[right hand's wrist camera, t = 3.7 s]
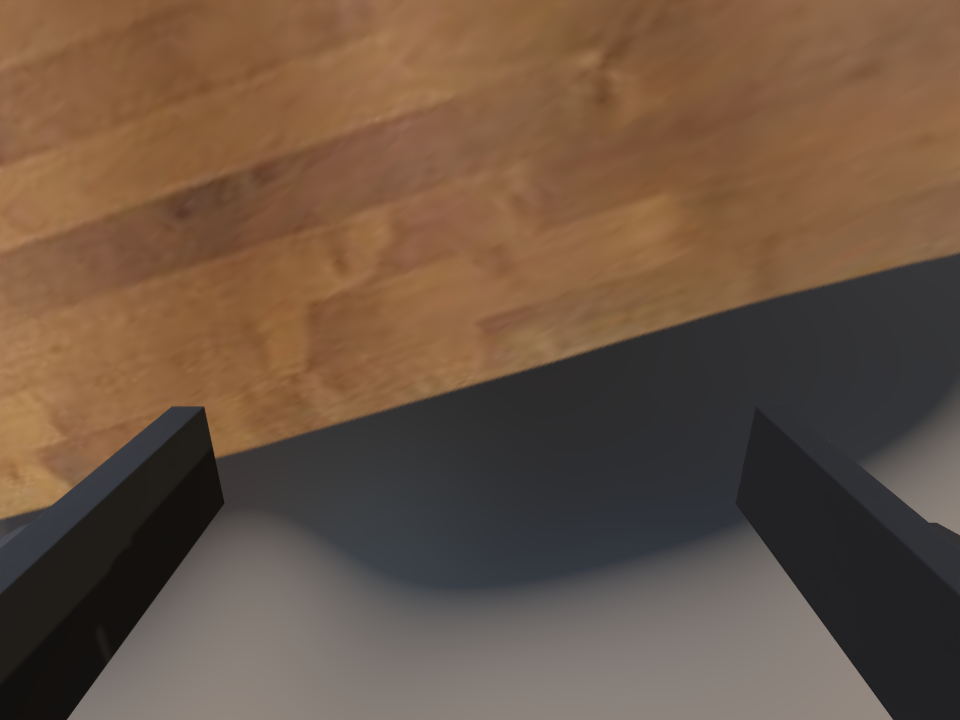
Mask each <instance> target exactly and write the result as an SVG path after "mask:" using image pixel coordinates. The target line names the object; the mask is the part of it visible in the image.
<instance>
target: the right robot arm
mask: <svg viewBox="0 0 960 720" xmlns="http://www.w3.org/2000/svg"><path fill="white" fill-rule="evenodd" d="M223 504H224V499H223V494H222V490H221V485H220V480H219V475H218V471H217V466H216V461H215V456H214V451H213V447H212V442H211V437H210V432H209V428H208V423H207V418H206V413H205V409H204V407H171V408H170V409H168V410H167V411H166V412H165V413H164V414H162V415H161V416H160V417H159V418H157V419H156V420H155V421H154V422H153V423H151V424H150V425H149V426H148V427H147V428H145V429H144V430H143V431H142V432H141V433H139V434H138V435H137V436H136V437H134V438H133V439H132V440H131V441H130V442H128V443H127V444H126V445H125V446H124V447H122V448H121V449H120V450H119V451H118V452H116V453H115V454H114V455H113V456H111V457H110V458H109V459H108V460H107V461H105V462H104V463H103V464H102V465H101V466H99V467H98V468H97V469H96V470H95V471H93V472H92V473H91V474H90V475H88V476H87V477H86V478H85V479H84V480H82V481H81V482H80V483H79V484H78V485H76V486H75V487H74V488H73V489H72V490H70V491H69V492H68V493H67V494H65V495H64V496H63V497H62V498H61V499H59V500H58V501H57V502H56V503H55V504H53V505H52V506H51V507H50V508H48V509H47V510H46V511H45V512H44V513H42V514H41V515H40V516H39V517H38V518H36V519H35V520H34V521H33V522H32V523H30V524H29V525H23V526H21V527H19V528H17V529H15V530H13V531H12V532H10V533H8V534H6V535H4V536H2V537H1V538H0V720H67V719H68V717H69V716H70V715H71V713H72V712H73V710H74V709H75V708H76V706H77V705H78V704H79V702H80V701H81V699H82V698H83V697H84V695H85V694H86V693H87V691H88V690H89V688H90V687H91V686H92V684H93V683H94V682H95V680H96V679H97V677H98V676H99V675H100V673H101V672H102V671H103V669H104V668H105V666H106V665H107V664H108V662H109V661H110V659H111V658H112V657H113V655H114V654H115V653H116V651H117V650H118V649H119V647H120V646H121V644H122V643H123V642H124V640H125V639H126V638H127V636H128V635H129V633H130V632H131V631H132V629H133V628H134V627H135V625H136V624H137V623H138V621H139V620H140V618H141V617H142V616H143V614H144V613H145V611H146V610H147V609H148V607H149V606H150V605H151V603H152V602H153V601H154V599H155V598H156V596H157V595H158V594H159V592H160V591H161V590H162V588H163V587H164V585H165V584H166V583H167V581H168V580H169V579H170V577H171V576H172V574H173V573H174V572H175V570H176V569H177V568H178V566H179V565H180V563H181V562H182V561H183V559H184V558H185V557H186V555H187V554H188V552H189V551H190V550H191V548H192V547H193V546H194V544H195V543H196V541H197V540H198V539H199V537H200V536H201V535H202V533H203V532H204V530H205V529H206V528H207V526H208V525H209V523H210V522H211V521H212V520H213V518H214V517H215V515H216V514H217V513H218V511H219V510H220V509H221V507H222V506H223ZM736 504H737V506H738V507H739V509H740V510H741V511H742V513H743V514H744V515H745V517H746V518H747V519H748V521H749V522H750V524H751V525H752V526H753V528H754V529H755V530H756V532H757V533H758V535H759V536H760V537H761V539H762V540H763V541H764V543H765V544H766V546H767V547H768V548H769V550H770V551H771V552H772V554H773V555H774V557H775V558H776V559H777V561H778V562H779V563H780V565H781V566H782V568H783V569H784V570H785V572H786V573H787V574H788V576H789V577H790V579H791V580H792V581H793V583H794V584H795V585H796V587H797V588H798V590H799V591H800V592H801V594H802V595H803V596H804V598H805V599H806V601H807V602H808V603H809V605H810V606H811V607H812V609H813V610H814V612H815V613H816V614H817V616H818V617H819V618H820V620H821V621H822V623H823V624H824V625H825V627H826V628H827V629H828V631H829V632H830V633H831V635H832V636H833V638H834V639H835V640H836V642H837V643H838V644H839V646H840V647H841V649H842V650H843V651H844V653H845V654H846V655H847V657H848V658H849V660H850V661H851V662H852V664H853V665H854V666H855V668H856V669H857V671H858V672H859V673H860V675H861V676H862V677H863V679H864V680H865V682H866V683H867V684H868V686H869V687H870V688H871V690H872V691H873V692H874V694H875V695H876V697H877V698H878V699H879V701H880V702H881V704H882V705H883V706H884V708H885V709H886V710H887V712H888V713H889V715H890V716H891V717H892V719H893V720H960V535H958V534H956V533H954V532H953V531H951V530H949V529H947V528H945V527H943V526H941V525H940V524H938V523H928V522H927V521H926V520H925V519H924V518H922V517H921V516H920V515H919V514H918V513H916V512H915V511H914V510H913V509H911V508H910V507H909V506H908V505H907V504H905V503H904V502H903V501H902V500H901V499H899V498H898V497H897V496H896V495H895V494H893V493H892V492H891V491H890V490H888V489H887V488H886V487H885V486H884V485H882V484H881V483H880V482H879V481H878V480H876V479H875V478H874V477H873V476H872V475H870V474H869V473H868V472H867V471H865V470H864V469H863V468H862V467H861V466H859V465H858V464H857V463H856V462H855V461H853V460H852V459H851V458H850V457H849V456H847V455H846V454H845V453H844V452H842V451H841V450H840V449H839V448H838V447H836V446H835V445H834V444H833V443H832V442H830V441H829V440H828V439H827V438H826V437H824V436H823V435H822V434H821V433H819V432H818V431H817V430H816V429H815V428H813V427H812V426H811V425H810V424H809V423H807V422H806V421H805V420H804V419H803V418H801V417H800V416H799V415H798V414H796V413H795V412H794V411H793V410H792V409H790V408H789V407H756V409H755V413H754V418H753V423H752V428H751V432H750V437H749V442H748V447H747V451H746V456H745V461H744V466H743V470H742V475H741V480H740V485H739V490H738V494H737V499H736Z"/></svg>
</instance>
